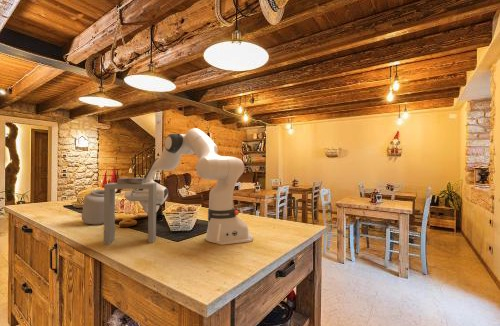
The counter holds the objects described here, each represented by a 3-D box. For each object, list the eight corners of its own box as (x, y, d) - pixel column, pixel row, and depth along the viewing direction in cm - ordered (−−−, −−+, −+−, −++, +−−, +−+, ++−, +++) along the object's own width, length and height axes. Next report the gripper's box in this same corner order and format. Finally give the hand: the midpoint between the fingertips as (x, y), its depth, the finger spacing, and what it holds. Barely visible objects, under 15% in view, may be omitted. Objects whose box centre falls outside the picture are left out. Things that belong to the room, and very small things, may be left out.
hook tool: (149, 181, 125) (149, 176, 125) (141, 184, 110) (141, 178, 110) (128, 181, 124) (128, 176, 124) (117, 184, 108) (117, 178, 108)
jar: (121, 222, 146) (122, 179, 146) (96, 228, 133) (97, 181, 132) (101, 218, 154) (101, 178, 154) (75, 224, 141) (76, 179, 141)
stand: (155, 238, 118) (156, 182, 117) (152, 242, 111) (153, 184, 111) (109, 239, 114) (110, 182, 114) (103, 244, 107) (104, 184, 107)
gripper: (129, 194, 143) (122, 184, 132) (166, 194, 147) (163, 184, 135) (127, 205, 140) (120, 195, 129) (165, 204, 144) (161, 195, 132)
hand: (142, 189), depth 132 cm, fingers open, 8 cm apart
